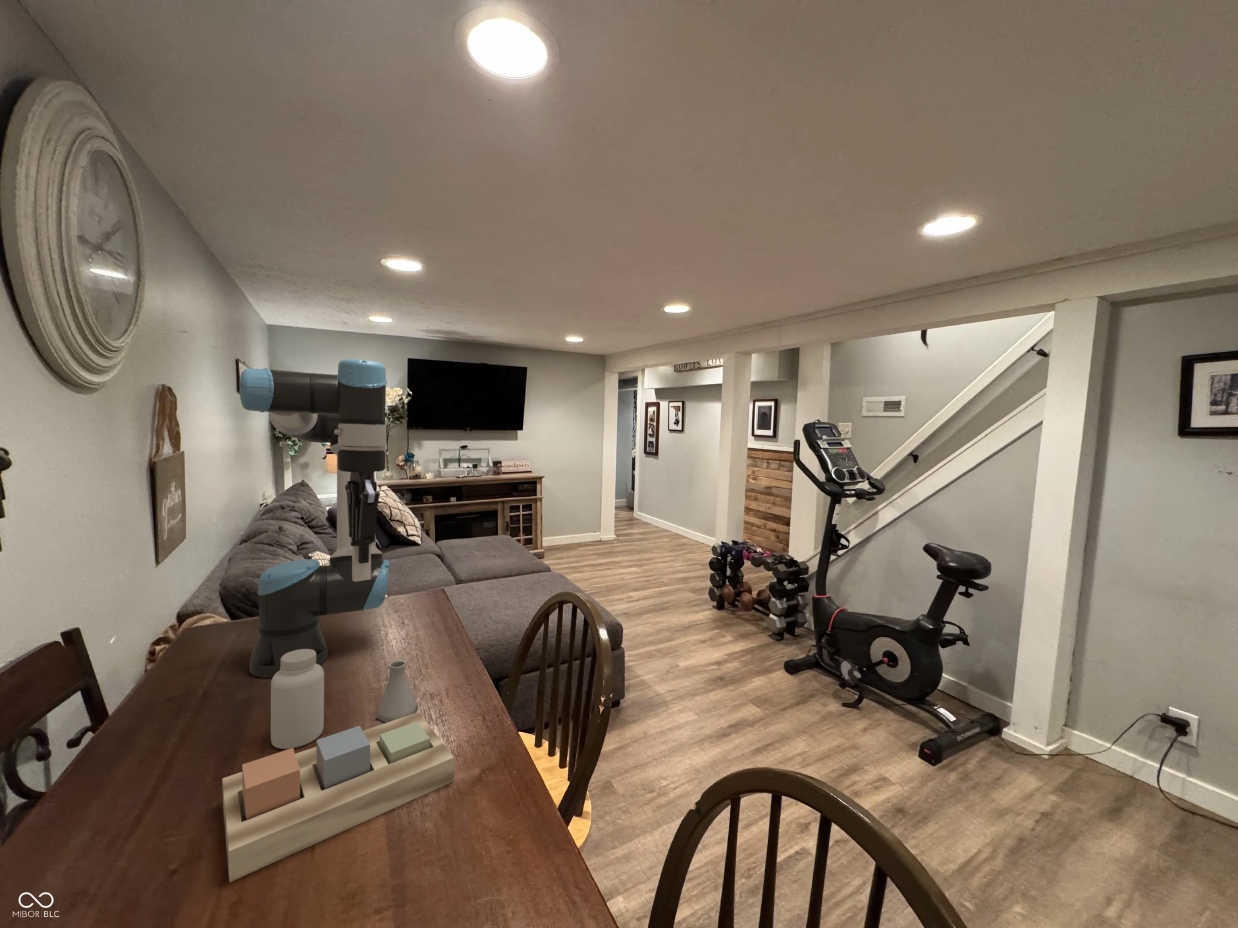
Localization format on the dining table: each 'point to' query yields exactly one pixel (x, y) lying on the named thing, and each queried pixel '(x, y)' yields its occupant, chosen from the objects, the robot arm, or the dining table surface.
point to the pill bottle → (297, 700)
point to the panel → (330, 801)
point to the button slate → (343, 756)
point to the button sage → (403, 742)
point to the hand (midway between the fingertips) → (361, 579)
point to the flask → (397, 695)
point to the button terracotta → (270, 782)
